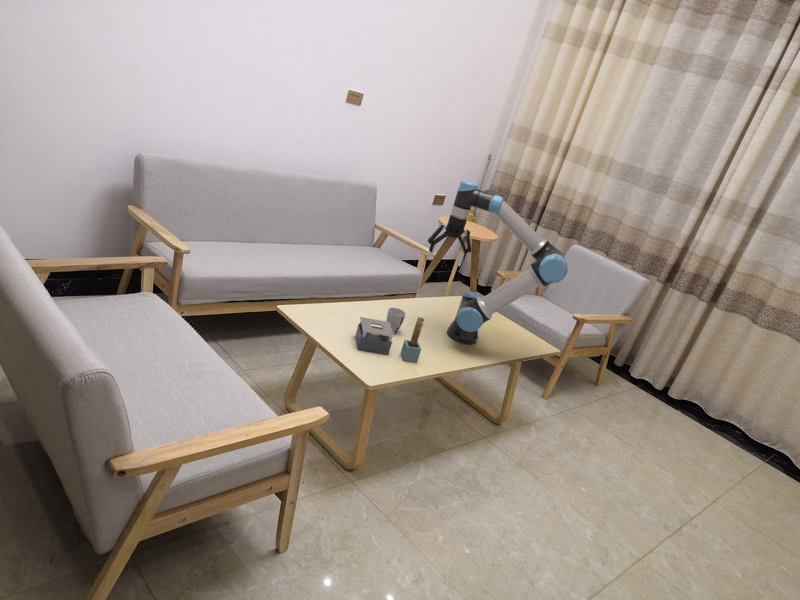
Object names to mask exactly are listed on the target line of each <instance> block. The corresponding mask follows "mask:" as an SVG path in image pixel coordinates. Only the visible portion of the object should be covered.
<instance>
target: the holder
mask: <svg viewBox="0 0 800 600" xmlns="http://www.w3.org/2000/svg"><path fill="white" fill-rule="evenodd" d="M410 341H411V340H409V339H404V341H403V344H402V348H401V350H400V356H401V359H402V362H403V361H404V362H408V363H415V364H417V363H418V361H419V358H420V354H421V350H422V347H421V345H420V343H419V341H417V344H416V347H411V346H409V344H410Z"/></svg>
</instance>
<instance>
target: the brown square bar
mask: <svg viewBox="0 0 800 600" xmlns="http://www.w3.org/2000/svg"><path fill="white" fill-rule="evenodd" d="M424 322H425V319H424V318H423V317H419V316H418V317H417V319H416V322H415V326H414V329H413V332H412V336H411V339H410V340H409V341H410V344H409V346H411V347H416V344H417V342H419V338H420V335H421V331H422V328H423V326H424Z"/></svg>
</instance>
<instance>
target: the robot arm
mask: <svg viewBox="0 0 800 600" xmlns="http://www.w3.org/2000/svg"><path fill="white" fill-rule="evenodd" d="M478 187H479V185H478V183H476V182H473V181H470V180H464V179H463V180H461V181H460V183H459V186H458V189H457V192H456V195H455V199H454V202H453V205H452V208H451V211H450V214H451V215H449V218H448V222H447V224H446V225H445V224H443V223H442V222H441V223H439V226H438V228H437V229H436V230H435V231H434V232H433V233H432V234H431V235H430V237H429V238H427V242H428V244H430V245H429V249H428V252H429V256H428V259H429V261H433V258H434V257H433V256H434V254H435V250H436V247H437V246H436V245H437V244H438V243H439V242H441V241H442V240H444V239H445V238H447V237H449V238H454V239H458V241H459V243H460V247H461V249H462V250H461V251H460V254H459V258H458V260H457V263H456V264H457V267H461V265H462V261H463V260H465V259H466V256H467V254H468V253H472V244H471V237H470V235H471V231H470V230H469V229H465V227H466V224H467V221H468V220H467V219H469V215H470V212H471V209H472V207H473V208H477V209H479V210H483V211H485V212H489V213H491V214H493V216H494V217H496V219H498V220H499V221H500V223H501V224H502V225H504V226H505V227H506V229H507V230H508V231H510V233H512V235H514V237H515V238H516V239H517V240H518V241H520V243H521V244H523V245H524V247H526V249H527V250H528V251H529V252H530V256H532V258H533V259H534V261H533V262H531V263H530V264H529V268H528V269H527V270H526V271H524V272H522V273H521V274H519V275H517V276H515V277H514V278H512V279H511V280H509V281H508V282H506V283H503V285H501V286H499V287H498V288H496V289H494V290H493V291H490V292H489V293H488V294H487V295H482V294H481V293H477V292H474V291H471V290H470V291H469V290H468V291H467V290H466V291H464V292H463V294H462V295H461V300H460V302H459V306H458V309H457V312H456V314H455V318H454V320H453V321H452V322H451V323H450V325H449V326H448V327H447V330H446V335H447V336H448V337H450V338H451V339H452V340H454V341H456V342H459V343H462V344H466V345H474V344H476V343H477V342H478V339H479V338H478V336H479V335H478V334H479V329H481V328H482V326H483V324H485V323H486V322H488V321H490V320H491V319H492V317H493V314H495V313H496V312H498V311H500V310H501V309H503V308H505V307H507V306H508V305H510V304H512V303H514V302H515V301H517V300H519V299H520V298H522V297H524V296H525V295H527V294H528V293H530V292H532V291H534V290H535V289H537V288H540V287H542V288H545V287H547V286H549V285H551V284H558V283H559V282H561V281H563V280H564V279H565V278H566V276H567V274H568V271H569V270H568V268H569V267H568V266H569V264H568V261H567V259H566V258H565V256H564V254H563V252H562V251H561V250H559V249H558V248H556V247H555V246H554V245H553V244H551V242H550V241H548V240H547V239H544V238H542V237H541V236H540V235H539V233H537V232H536V231H535V230H534V229H533V228H532V227H531V226H530V225H529V224H528V223H527V222H526V221H525V220H524V218H522V217H521V216H520V215H519V214H518V213H517V212H516V210H514V209H513V208H512V207H511V206H510V205H509V204H508V203H507V202H506V201H505V200H504V198H503V197H502V196H500V195H499V194H498V192H497V191H496V190H495V189H493V188H492V189H491V188H487V189H485V190H481V189H478ZM443 230H445V231H443ZM442 231H443V233H442ZM441 233H442V234H441ZM463 234H464V236H465V242H466V243H465V242H464V240H463V237H462V235H463ZM465 244H466V245H465Z"/></svg>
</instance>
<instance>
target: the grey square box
mask: <svg viewBox="0 0 800 600" xmlns="http://www.w3.org/2000/svg"><path fill="white" fill-rule="evenodd" d="M359 320H360V321H359V323H358V325H357V329H356V332H355V335H354V336H355V342H356V347H357V350H358V351H361V352H367V353H374V354H380V355H385V356H389V354H390V350H391V347H392V345H393V341H392V340H393V338H395V334H393V331H392V328H391V325H390V322H386V320H380V319H375V318H374V319H373V318H369V317H364V316H360V317H359ZM375 325H376V326H375ZM370 333H374V334H379V336H376V335H370Z"/></svg>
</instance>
